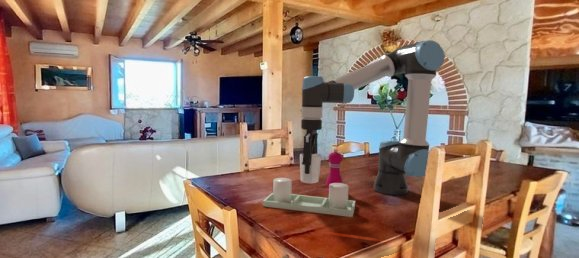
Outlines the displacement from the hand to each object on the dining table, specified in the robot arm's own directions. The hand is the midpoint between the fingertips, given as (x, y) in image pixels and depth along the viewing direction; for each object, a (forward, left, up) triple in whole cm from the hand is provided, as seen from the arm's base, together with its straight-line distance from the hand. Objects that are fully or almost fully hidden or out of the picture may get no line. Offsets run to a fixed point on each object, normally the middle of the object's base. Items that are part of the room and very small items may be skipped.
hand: (309, 179), depth 117 cm
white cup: (0, 0, -1) cm, 1 cm away
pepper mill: (-7, -21, -11) cm, 25 cm away
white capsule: (+11, 0, -10) cm, 15 cm away
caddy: (0, 0, -11) cm, 11 cm away
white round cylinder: (-11, 0, -10) cm, 15 cm away
